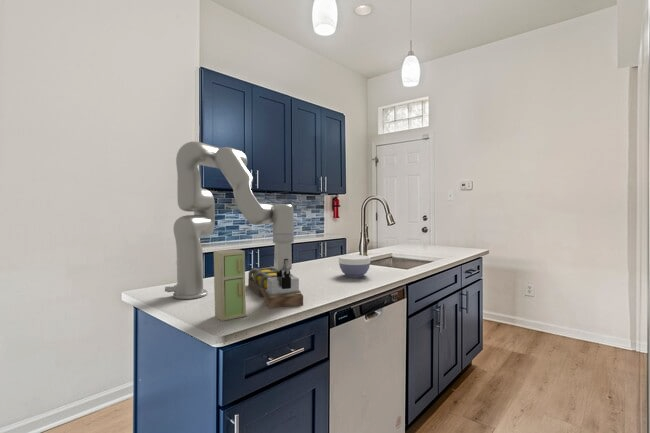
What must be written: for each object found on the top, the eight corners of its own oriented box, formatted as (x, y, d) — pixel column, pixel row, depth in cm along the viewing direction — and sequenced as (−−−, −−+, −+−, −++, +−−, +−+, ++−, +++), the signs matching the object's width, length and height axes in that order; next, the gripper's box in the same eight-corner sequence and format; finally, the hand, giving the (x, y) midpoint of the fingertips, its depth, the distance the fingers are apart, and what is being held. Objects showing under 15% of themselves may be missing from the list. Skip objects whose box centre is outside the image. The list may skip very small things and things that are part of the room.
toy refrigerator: (222, 322, 105) (221, 253, 104) (214, 316, 111) (213, 250, 110) (246, 317, 110) (246, 251, 109) (238, 311, 115) (237, 248, 115)
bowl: (335, 273, 180) (335, 255, 180) (365, 272, 183) (365, 254, 183) (342, 279, 165) (342, 259, 164) (374, 278, 168) (374, 258, 167)
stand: (269, 308, 119) (269, 296, 119) (265, 300, 129) (265, 290, 129) (303, 305, 123) (303, 293, 123) (296, 298, 132) (296, 287, 132)
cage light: (275, 264, 163) (300, 275, 136) (275, 281, 163) (300, 296, 136) (244, 267, 156) (264, 279, 129) (244, 284, 156) (264, 300, 130)
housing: (270, 295, 120) (270, 281, 120) (265, 291, 126) (265, 277, 126) (300, 292, 125) (300, 278, 125) (294, 288, 131) (294, 275, 131)
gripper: (269, 236, 132) (269, 281, 133) (277, 241, 116) (277, 292, 116) (288, 236, 134) (289, 280, 135) (299, 240, 118) (299, 290, 118)
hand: (283, 285), depth 126 cm, fingers open, 9 cm apart
